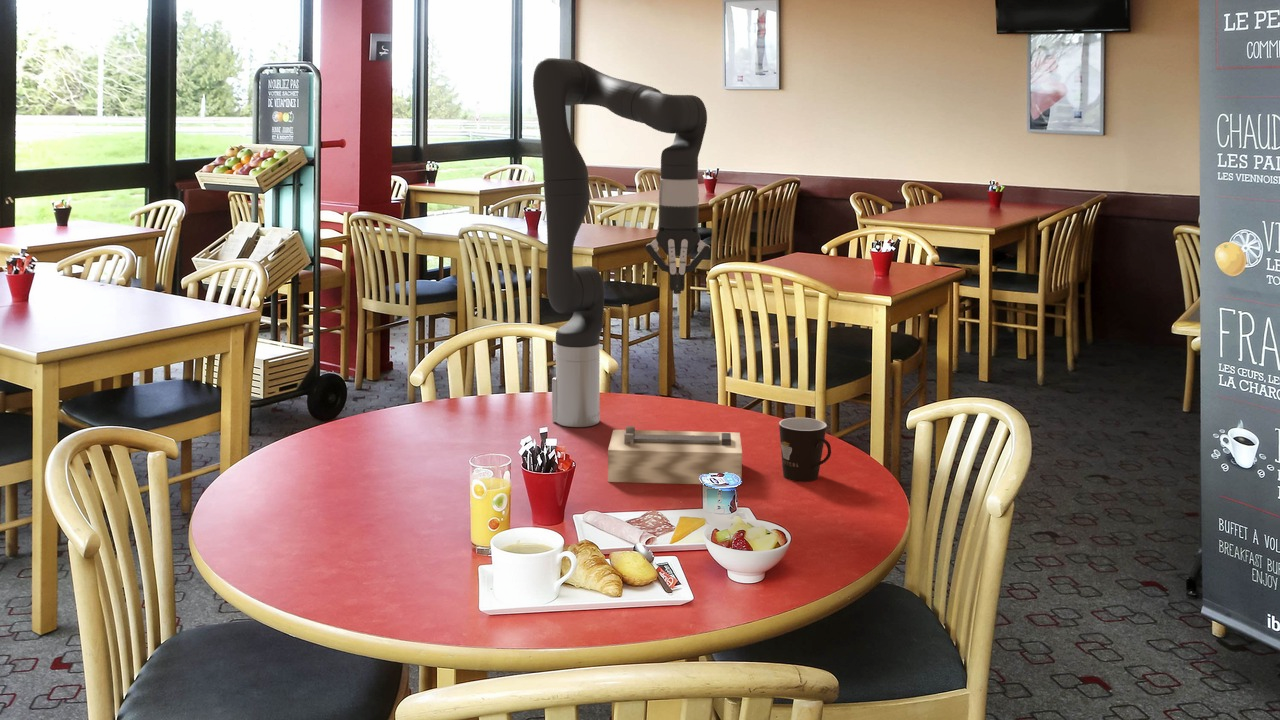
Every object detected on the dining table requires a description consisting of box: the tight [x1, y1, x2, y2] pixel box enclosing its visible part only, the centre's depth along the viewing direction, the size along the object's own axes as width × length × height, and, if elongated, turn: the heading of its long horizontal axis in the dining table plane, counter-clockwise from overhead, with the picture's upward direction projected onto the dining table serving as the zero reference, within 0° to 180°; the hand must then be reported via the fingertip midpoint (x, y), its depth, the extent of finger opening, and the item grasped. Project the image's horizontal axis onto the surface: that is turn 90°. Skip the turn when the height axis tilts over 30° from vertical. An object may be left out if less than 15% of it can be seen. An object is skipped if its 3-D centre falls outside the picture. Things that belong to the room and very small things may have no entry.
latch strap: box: [633, 434, 719, 444], centre depth 213 cm, size 16×3×1 cm, turn 87°
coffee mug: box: [778, 417, 832, 483], centre depth 210 cm, size 12×9×10 cm
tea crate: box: [607, 425, 743, 485], centre depth 213 cm, size 24×13×8 cm, turn 87°
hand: (677, 293), depth 222 cm, fingers closed
